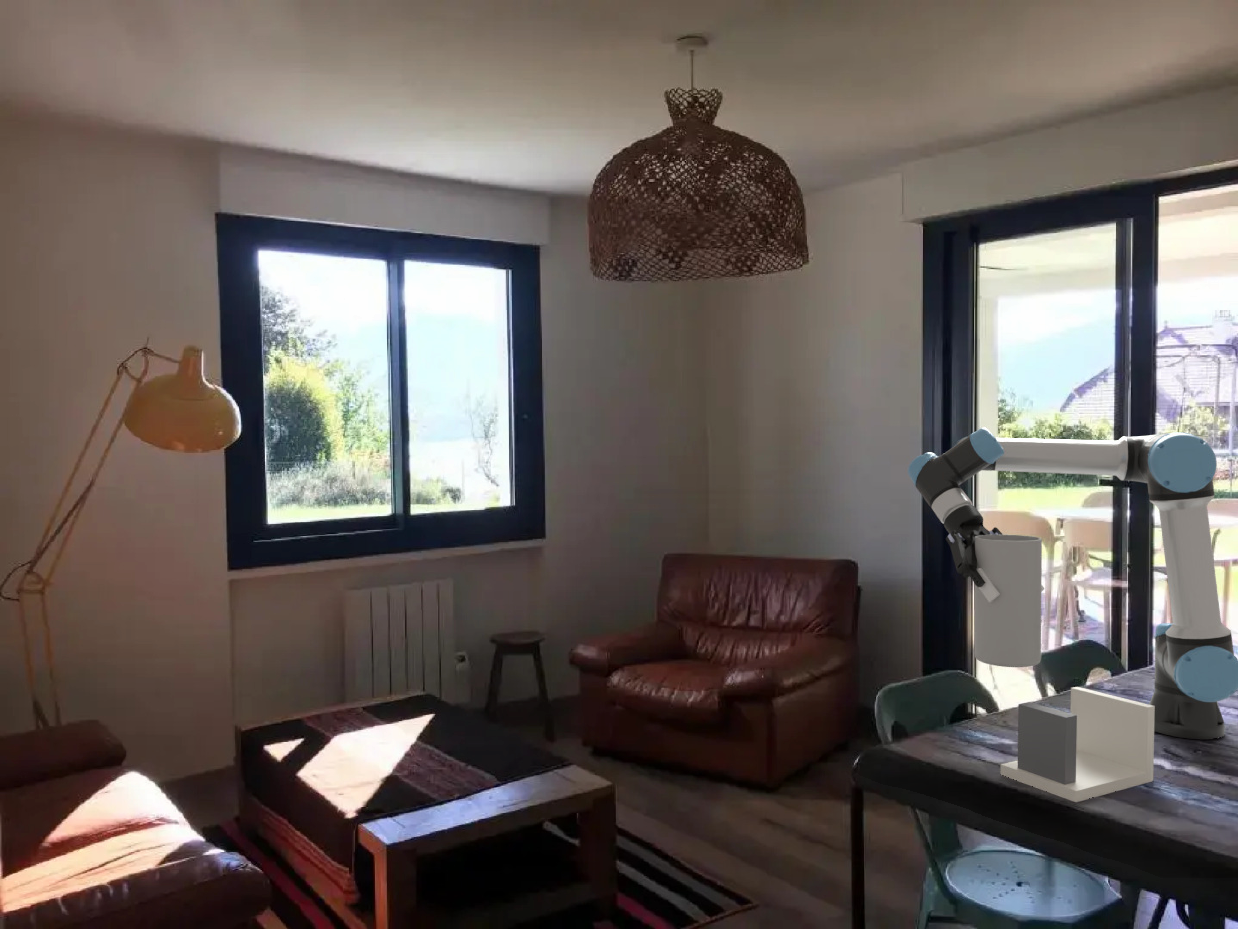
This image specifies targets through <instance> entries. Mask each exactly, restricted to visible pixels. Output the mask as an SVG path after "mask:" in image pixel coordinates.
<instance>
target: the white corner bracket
mask: <svg viewBox="0 0 1238 929" xmlns="http://www.w3.org/2000/svg"><path fill="white" fill-rule="evenodd" d="M1017 709H1018V717H1017V722H1018V724H1017V728H1018V729H1017V760H1013V761H1009V762H1005V763H1001V764H1000V774H1001V775H1000V776H1002V775H1004V776H1003V777H1005V776H1006V777H1005V778H1008V777H1009V778H1008V779H1011V780H1013V779H1014V781H1016V780H1017V781H1016V782H1018V783H1022V784H1024V785H1027V786H1030V787H1032V786H1033V788H1036V789H1039V790H1041V791H1044V792H1046V791H1047V792H1046V793H1050V794H1052V795H1054V796H1058V797H1060V798H1063V799H1066V800H1068V801H1071V802H1074V803H1079V802H1082V801H1083V802H1084V801H1086V800H1090V799H1093V798H1092V797H1094V798H1097V797H1100V796H1101V797H1102V796H1104V795H1108V794H1112V793H1116V792H1119V791H1122V790H1126V789H1130V788H1133V787H1136V786H1140V785H1144V784H1147V783H1151V782H1154V766H1155V765H1154V758H1155V757H1154V755H1155V753H1154V752H1155V751H1154V750H1155V731H1154V713H1155V706H1153V705H1149V704H1148V703H1144V702H1141V701H1137V700H1133V699H1128V698H1125V697H1124V698H1123V697H1120V696H1115V695H1113V694H1112V695H1111V694H1108V693H1104V692H1100V691H1096V690H1093V689H1088V688H1084V687H1080V686H1075V687H1074V686H1073V687H1070V712H1067V711H1063V710H1059V709H1056V708H1052V707H1049V706H1045V705H1041V704H1038V703H1034V702H1030V701H1027V702H1023V703H1018V708H1017ZM1115 791H1116V792H1115ZM1089 798H1090V799H1089Z"/></svg>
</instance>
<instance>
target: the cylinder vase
mask: <svg viewBox="0 0 1238 929" xmlns="http://www.w3.org/2000/svg"><path fill="white" fill-rule="evenodd" d="M1042 540H1043V538H1042V537H1038V536H1032V535H1021V534H1003V535H979V536H975V554H976V558H977V569H978V568H982V570H983V571H984V573H985V574H986V576H987V577H988V578H989V580H990V581H991V582H992V584H993V585H994V586H995V588H996V589H997V591H998V592H999V593H1000V595H999V596H998V597H997V598H996V599H995V600H994V601H993V602H991V603H989V602H988V600H987V599H986V597H985V596H984V594H983V593H982V592H981V590H980V589H979V587H977V586H976V585H975V584H974V648H973V649H974V658H975V659H976V660H978V661H979V662H981V663H983V664H986V665H991V666H997V667H1003V668H1028V667H1029V668H1030V667H1034V666H1037V665H1039V664H1040V663H1041V660H1042V592H1041V585H1042V570H1043V569H1042V565H1043V564H1042V559H1043V558H1042V556H1043V555H1042V549H1043V548H1042V547H1043V546H1042V544H1043V541H1042ZM977 569H976V570H977Z"/></svg>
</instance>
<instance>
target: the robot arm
mask: <svg viewBox="0 0 1238 929" xmlns="http://www.w3.org/2000/svg"><path fill="white" fill-rule="evenodd" d="M1217 467H1218V466H1217V457H1216V453H1215V451H1214V450H1213V448H1212V447H1211V445H1210V444H1209V443H1208V442H1207V441H1205V440H1204V439H1202V438H1201V437H1199V436H1198V435H1194V434H1192V433H1190V432H1185V431H1183V432H1182V431H1181V432H1180V431H1179V432H1175V431H1174V432H1162V433H1155V434H1150V435H1140V436H1122V437H1119V439H1118V440H1097V439H1096V440H1095V439H1094V440H1093V439H1061V438H1060V439H1059V438H1055V439H1054V438H1045V439H1044V438H1025V437H1024V438H1020V437H1017V438H1014V437H995V436H994V434H993V433H992V432H991V431H990V429H988V428H987V427H980V428H979V429H977V430H976V431H973V432H972V433H971V434H969V435H968V436H965V437H962V438H960V439H959V440H957V442H956V443H955V445H954V446H952V447H951V448H950V449H949V450H947V451H945V453H942V454H939V455H937V454H936V453H934V452H925V453H923V454H920V455H918V456H916V457H915V458H914V459H913V460H912V461H911V462H910V463H909V465H908V467H907V474H908V477H909V478H910V480H911V481H912V483H913V485H914V487H915V488H916V489H917V491H918V492H919V494H920V495H921V497H922V498H923V499H924V500H925V502H926V503H927V504H928V506H929V507H930V508H931V510H932V511H933V512H934V514H935V516H936V517H937V518H938V519H939V521H940V522H941V523H942V524H943V527H944V528H945V530H946V531H947V532H948V535H947V536H946V538H945V540H946V542H947V544H948V545H949V548H950V552H951V554H952V559H953V562H954V565H955V570H956V572H957V573H958V575H959V574H960V575H962V577H963V578H965V579H969V577H970V579H971V580H972V582H973V583H974V586H975V585H976V586H977V587H979V589H980V590H981V592H982V593H983V594H984V596H985V597H986V599H987V600H988V602H989V603H991V602H993V601H994V600H995V599H996V598H997V597H998V596H999V595H1000V593H999V592H998V591H997V589H996V588H995V586H994V585H993V584H992V582H991V581H990V580H989V578H988V577H987V576H986V574H985V573H984V571H983V570H982V568H978V569H977V558H976V554H975V536H979V535H1004V534H1003V533H1002V532H1001V531H1000V530H999V528H998V527H993V528H992V529H991V530H988V529H987V528H986V527H985V526H984V517H983V515H982V514H981V513H980V511H978V509H977V507H976V506H975V505H973V502H972V500H971V499H970V497H968V495H967V494H966V493H965V491H964V490H963V489H962V487H961V486H960V485H961V484H963V483H965V482H966V481H967V480H969V479H971V478H972V477H974V476H975V475H976V474H978V473H979V472H982V471H985V472H986V471H988V472H992V471H995V472H996V471H997V472H1019V473H1020V472H1021V473H1024V472H1025V473H1043V474H1044V473H1046V474H1047V473H1049V474H1067V475H1069V474H1070V475H1096V476H1097V475H1098V476H1099V475H1100V476H1115V477H1117V478H1118V479H1119V480H1120V481H1129V482H1130V481H1131V482H1139V483H1144V484H1147V489H1148V491H1147V492H1148V497H1149V502H1150V503H1151V504H1153V505H1154V506H1155V507H1156V508H1158V512H1159V521H1160V528H1161V536H1162V537H1161V538H1162V545H1163V555H1164V561H1165V568H1166V570H1165V571H1166V577H1167V586H1168V594H1169V602H1170V603H1169V604H1170V612H1171V617H1172V618H1171V620H1172V622H1170V623H1169V622H1167V623H1166V622H1162V623H1159V624H1157V626H1156V628H1155V635H1154V637H1153V638H1154V641H1155V642H1154V646H1155V647H1154V691H1153V693H1152V695H1151V698H1150V701H1149V705H1153V706H1155V713H1154V732H1156V733H1159V734H1163V735H1166V736H1170V737H1171V736H1172V737H1176V738H1183V739H1191V740H1214V739H1213V738H1217V739H1219V738H1218V737H1221V736H1223V737H1225V735H1224V734H1226V724H1225V721H1224V718H1223V715H1222V712H1221V709H1220V706H1219V702H1221V701H1224V700H1226V699H1228V698H1230V697H1231V696H1233V695H1234V693H1236V692H1237V691H1238V658H1237V657H1236V655H1235V653H1234V652H1235V651H1234V644H1233V638H1232V637H1233V634H1232V629H1230V628H1228V627H1227V626H1226V625H1224V624H1223V623H1222V620H1221V619H1222V618H1221V610H1220V602H1219V593H1218V587H1217V578H1216V569H1215V562H1214V561H1215V560H1214V553H1213V544H1212V536H1211V535H1212V534H1211V528H1210V519H1209V512H1208V505H1209V503H1211V501H1212V500H1213V499H1214V498H1215V489H1214V480H1213V478H1214V477H1215V475H1216V471H1217ZM976 569H977V570H976ZM1044 590H1045V587H1044V586H1043V585H1042V584H1041V593H1042V592H1043V591H1044ZM1221 738H1222V737H1221Z"/></svg>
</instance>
